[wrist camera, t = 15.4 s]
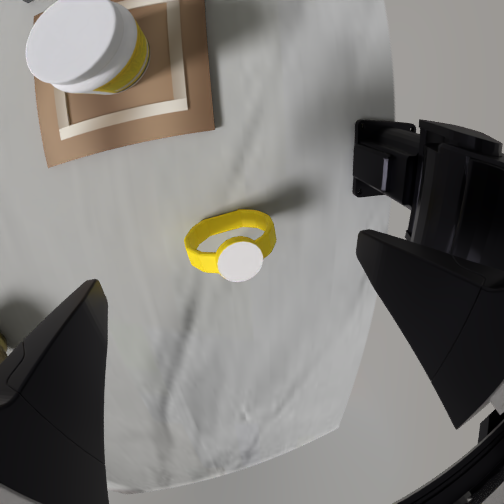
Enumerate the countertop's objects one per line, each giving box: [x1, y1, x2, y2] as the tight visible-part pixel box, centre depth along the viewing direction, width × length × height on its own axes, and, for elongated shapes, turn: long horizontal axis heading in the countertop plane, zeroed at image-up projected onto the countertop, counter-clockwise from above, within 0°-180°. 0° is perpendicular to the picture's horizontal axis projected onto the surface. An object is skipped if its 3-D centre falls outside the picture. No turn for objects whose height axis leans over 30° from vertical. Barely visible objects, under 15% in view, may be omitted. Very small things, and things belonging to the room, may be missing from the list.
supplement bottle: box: [26, 0, 150, 95], centre depth 10 cm, size 5×5×8 cm
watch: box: [184, 209, 276, 282], centre depth 19 cm, size 6×3×6 cm, turn 101°
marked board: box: [34, 0, 215, 168], centre depth 13 cm, size 12×12×1 cm
